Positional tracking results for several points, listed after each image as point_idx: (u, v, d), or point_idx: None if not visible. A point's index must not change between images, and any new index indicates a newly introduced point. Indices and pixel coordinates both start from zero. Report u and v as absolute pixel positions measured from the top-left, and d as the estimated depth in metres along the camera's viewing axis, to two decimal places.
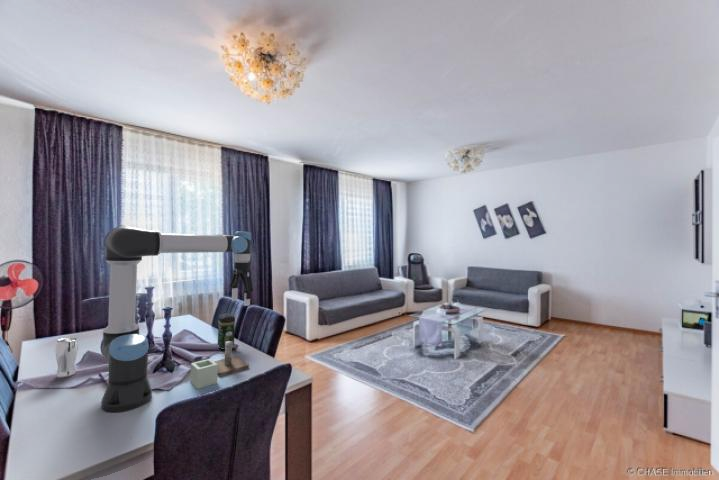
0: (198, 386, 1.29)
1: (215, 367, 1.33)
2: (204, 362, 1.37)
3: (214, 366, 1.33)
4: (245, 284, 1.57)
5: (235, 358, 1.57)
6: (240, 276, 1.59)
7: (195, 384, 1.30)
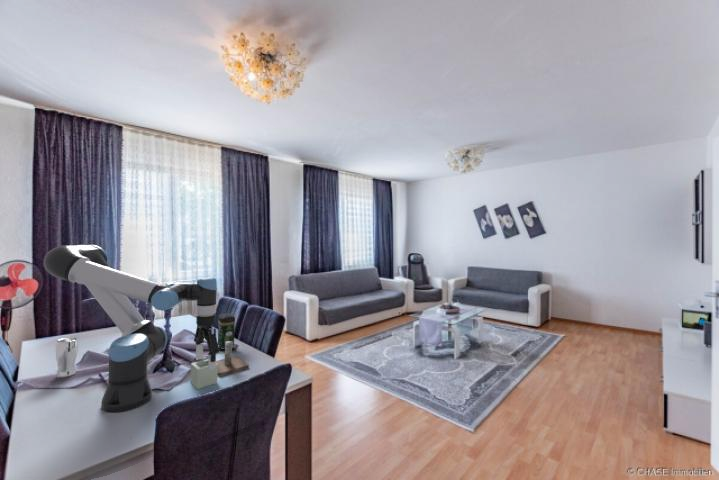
0: (198, 386, 1.29)
1: None
2: (204, 362, 1.37)
3: None
4: (209, 343, 1.29)
5: (235, 358, 1.57)
6: (203, 333, 1.31)
7: (195, 384, 1.30)
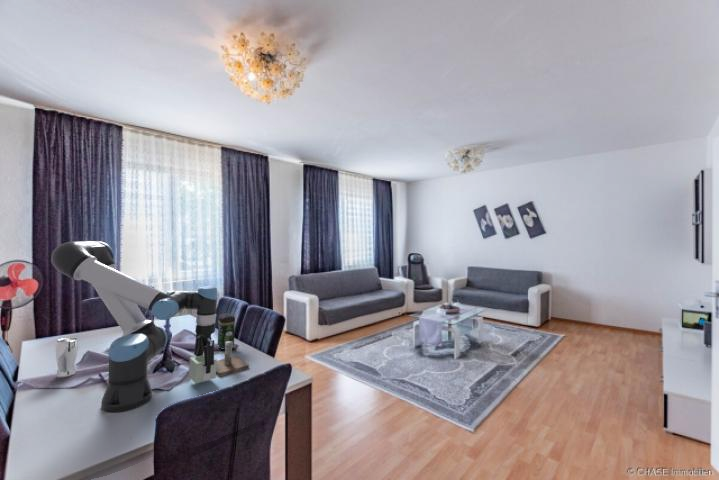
0: (197, 380, 1.29)
1: (214, 362, 1.33)
2: (203, 357, 1.37)
3: None
4: (206, 354, 1.30)
5: (235, 358, 1.57)
6: (202, 342, 1.31)
7: (194, 378, 1.30)
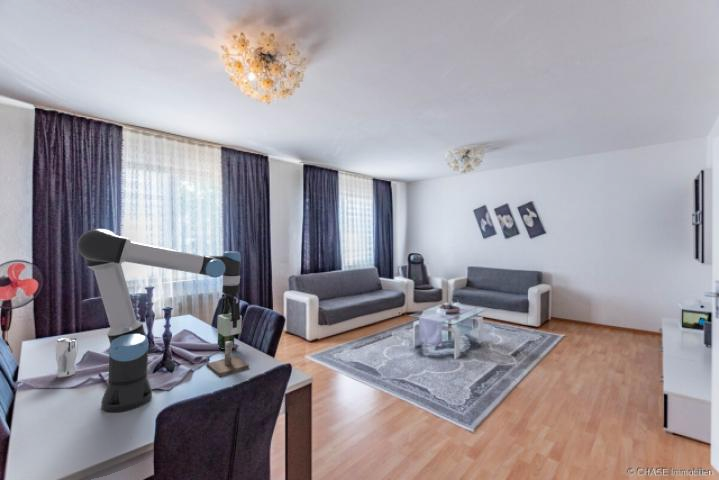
0: (225, 334, 1.44)
1: None
2: (229, 315, 1.52)
3: None
4: None
5: (235, 358, 1.57)
6: (228, 301, 1.47)
7: (222, 332, 1.45)
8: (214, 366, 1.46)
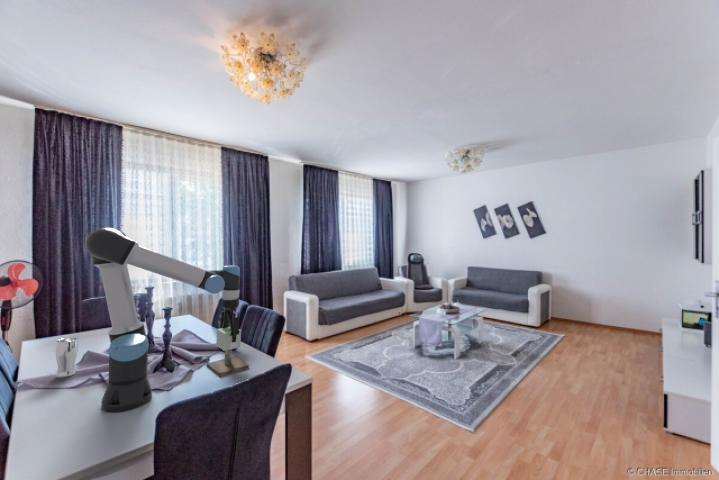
0: (224, 348, 1.44)
1: None
2: (228, 329, 1.52)
3: None
4: (232, 325, 1.46)
5: (235, 358, 1.57)
6: (228, 315, 1.47)
7: (221, 347, 1.45)
8: (214, 366, 1.46)
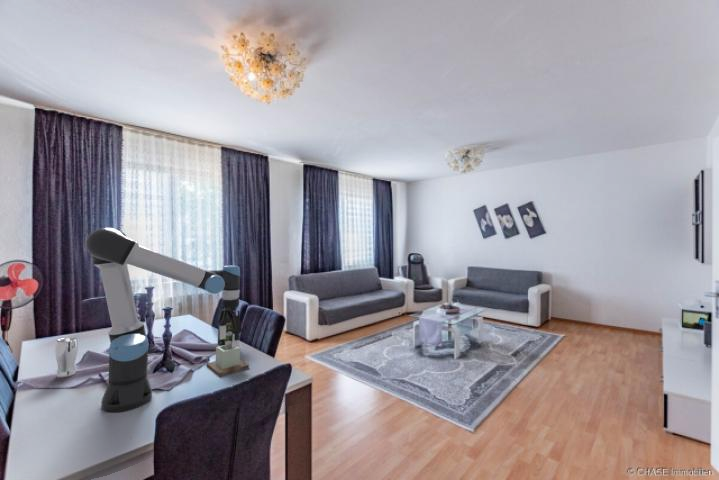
0: (223, 367, 1.45)
1: (237, 350, 1.49)
2: None
3: (237, 349, 1.49)
4: (233, 324, 1.45)
5: None
6: (228, 314, 1.47)
7: (221, 365, 1.46)
8: (214, 366, 1.46)
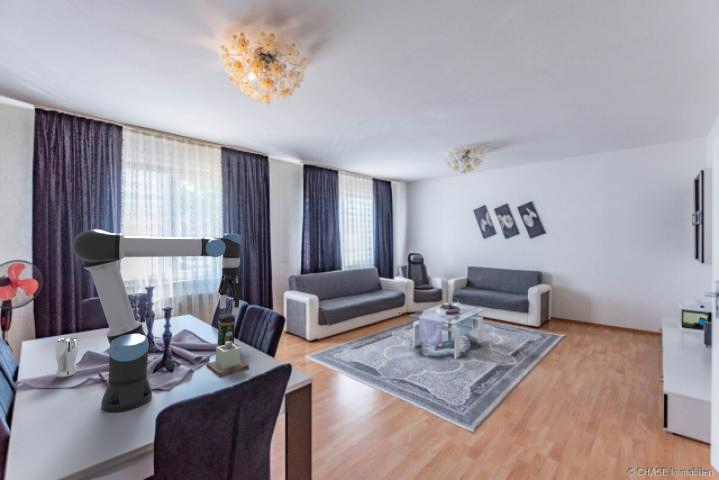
0: (223, 367, 1.45)
1: (237, 350, 1.49)
2: None
3: (237, 349, 1.49)
4: (233, 291, 1.45)
5: None
6: (228, 282, 1.46)
7: (221, 365, 1.46)
8: (214, 366, 1.46)
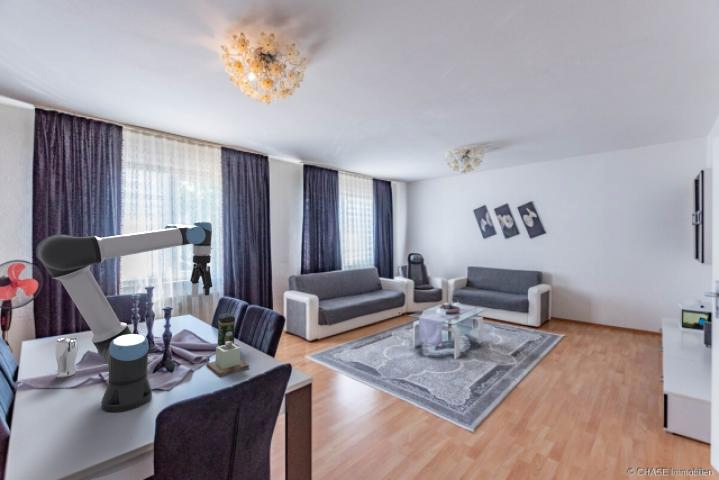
0: (223, 367, 1.45)
1: (237, 350, 1.49)
2: None
3: (237, 349, 1.49)
4: (204, 279, 1.44)
5: None
6: (199, 270, 1.46)
7: (221, 365, 1.46)
8: (214, 366, 1.46)
